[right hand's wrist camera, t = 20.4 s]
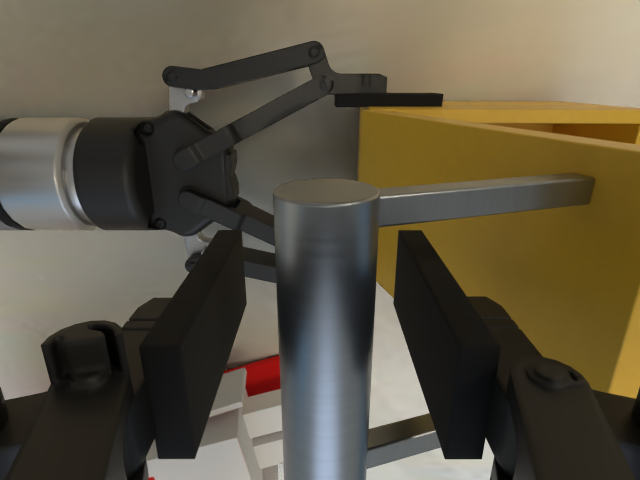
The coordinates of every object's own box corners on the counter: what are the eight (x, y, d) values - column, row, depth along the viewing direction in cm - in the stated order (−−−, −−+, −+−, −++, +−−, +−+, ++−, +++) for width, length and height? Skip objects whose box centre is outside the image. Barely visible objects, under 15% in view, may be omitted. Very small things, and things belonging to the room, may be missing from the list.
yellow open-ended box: (562, 101, 33) (657, 109, 23) (541, 212, 36) (617, 261, 26) (359, 101, 34) (370, 109, 24) (356, 210, 37) (363, 257, 27)
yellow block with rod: (715, 154, 9) (301, 185, 6) (612, 472, 12) (307, 582, 9) (380, 109, 23) (210, 113, 21) (372, 260, 26) (224, 280, 24)
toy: (355, 514, 36) (-9, 615, 34) (330, 406, 48) (63, 475, 46) (328, 400, 32) (-87, 507, 30) (308, 314, 44) (15, 385, 42)
